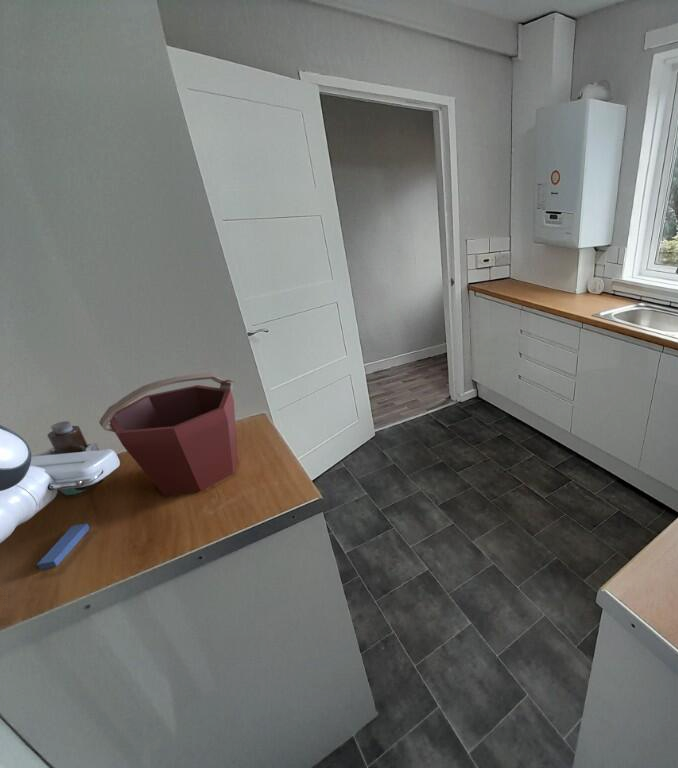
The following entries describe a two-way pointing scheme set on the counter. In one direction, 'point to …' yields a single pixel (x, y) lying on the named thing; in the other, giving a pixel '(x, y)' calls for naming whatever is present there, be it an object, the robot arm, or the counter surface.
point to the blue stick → (63, 546)
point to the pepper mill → (68, 442)
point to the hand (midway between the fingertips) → (76, 448)
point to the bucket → (179, 433)
